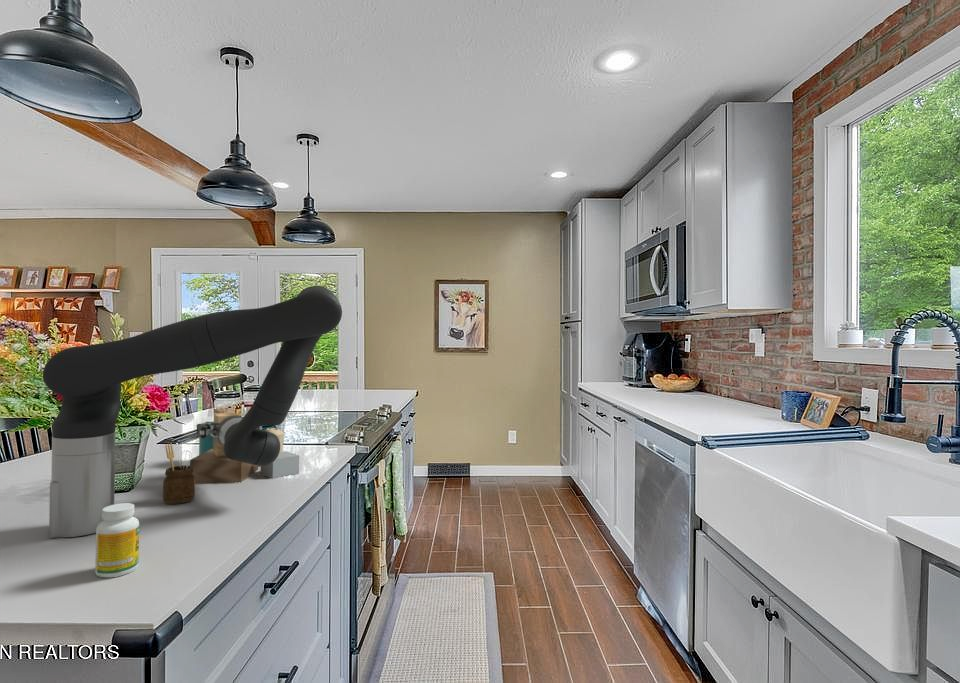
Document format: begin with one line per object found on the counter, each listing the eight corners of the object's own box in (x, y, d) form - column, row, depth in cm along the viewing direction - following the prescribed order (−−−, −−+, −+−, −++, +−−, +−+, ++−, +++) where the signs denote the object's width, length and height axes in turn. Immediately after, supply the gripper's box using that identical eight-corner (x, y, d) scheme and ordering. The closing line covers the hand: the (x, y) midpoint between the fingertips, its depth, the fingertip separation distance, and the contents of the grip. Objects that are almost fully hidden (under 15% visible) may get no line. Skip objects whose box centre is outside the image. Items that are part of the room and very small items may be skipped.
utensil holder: (177, 506, 109) (178, 448, 109) (155, 502, 111) (155, 446, 111) (201, 498, 115) (201, 443, 115) (179, 495, 117) (179, 441, 117)
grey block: (272, 479, 132) (273, 459, 132) (260, 474, 136) (260, 455, 136) (298, 474, 137) (299, 455, 137) (286, 469, 142) (286, 451, 142)
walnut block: (189, 484, 127) (189, 460, 127) (211, 471, 140) (211, 448, 140) (241, 484, 128) (241, 459, 128) (258, 470, 141) (258, 448, 141)
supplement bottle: (91, 570, 79) (92, 506, 79) (133, 560, 83) (134, 499, 83) (100, 582, 75) (101, 515, 75) (143, 570, 79) (144, 507, 79)
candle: (275, 466, 144) (275, 430, 144) (257, 465, 145) (257, 429, 145) (286, 462, 149) (287, 427, 149) (269, 461, 150) (269, 426, 150)
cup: (196, 471, 138) (196, 428, 138) (200, 461, 149) (200, 421, 149) (234, 468, 142) (234, 426, 142) (235, 458, 153) (236, 420, 153)
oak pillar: (217, 456, 130) (218, 416, 130) (213, 453, 134) (214, 413, 134) (238, 454, 133) (239, 415, 134) (234, 450, 137) (235, 412, 137)
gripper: (269, 415, 126) (254, 408, 139) (203, 420, 118) (194, 411, 131) (269, 447, 126) (254, 436, 139) (202, 453, 118) (193, 441, 131)
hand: (225, 424), depth 135 cm, fingers open, 8 cm apart
